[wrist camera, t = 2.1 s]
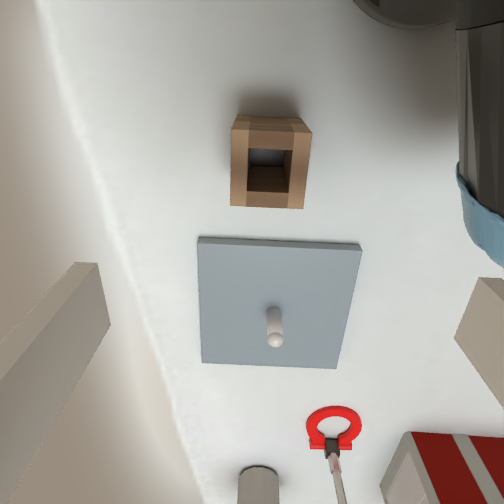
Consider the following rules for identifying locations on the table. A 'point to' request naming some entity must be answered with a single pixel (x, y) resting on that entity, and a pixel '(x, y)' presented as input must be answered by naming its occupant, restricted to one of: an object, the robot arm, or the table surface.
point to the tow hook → (334, 441)
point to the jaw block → (269, 178)
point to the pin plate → (274, 301)
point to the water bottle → (258, 486)
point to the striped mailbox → (445, 470)
